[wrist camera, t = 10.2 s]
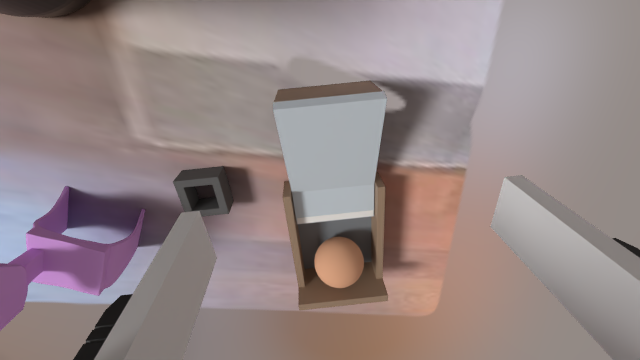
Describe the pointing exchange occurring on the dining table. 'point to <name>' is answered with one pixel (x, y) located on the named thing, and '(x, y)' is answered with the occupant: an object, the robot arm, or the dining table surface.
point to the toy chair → (62, 261)
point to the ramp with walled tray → (333, 183)
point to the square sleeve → (199, 178)
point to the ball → (339, 262)
